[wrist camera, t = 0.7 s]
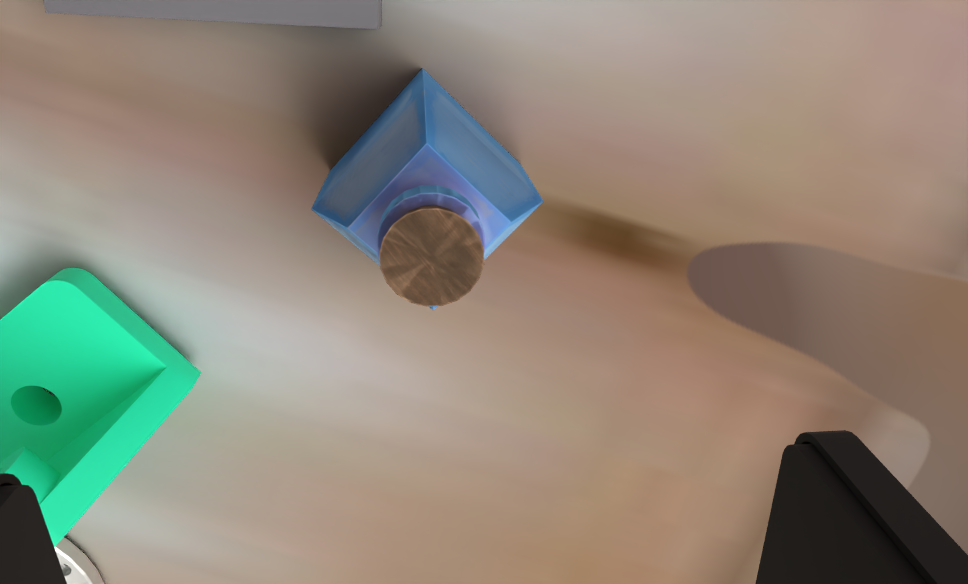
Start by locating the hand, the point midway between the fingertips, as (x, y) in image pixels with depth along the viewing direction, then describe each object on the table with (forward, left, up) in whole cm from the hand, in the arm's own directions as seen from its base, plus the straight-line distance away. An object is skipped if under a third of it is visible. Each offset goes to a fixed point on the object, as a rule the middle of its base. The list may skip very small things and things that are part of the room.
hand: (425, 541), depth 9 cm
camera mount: (-12, +18, -25) cm, 33 cm away
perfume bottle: (-1, 0, -25) cm, 25 cm away
